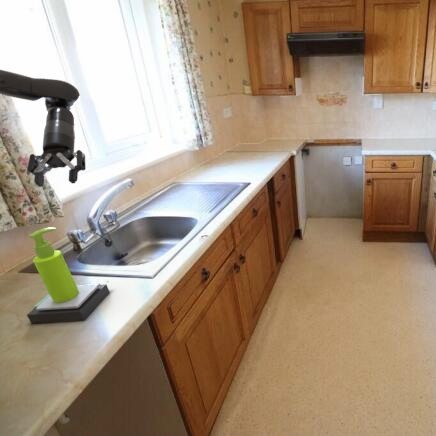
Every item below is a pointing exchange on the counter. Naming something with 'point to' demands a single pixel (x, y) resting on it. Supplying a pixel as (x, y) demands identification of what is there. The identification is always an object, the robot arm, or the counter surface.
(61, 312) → the kitchen scale
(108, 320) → the counter surface
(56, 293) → the soap dispenser
